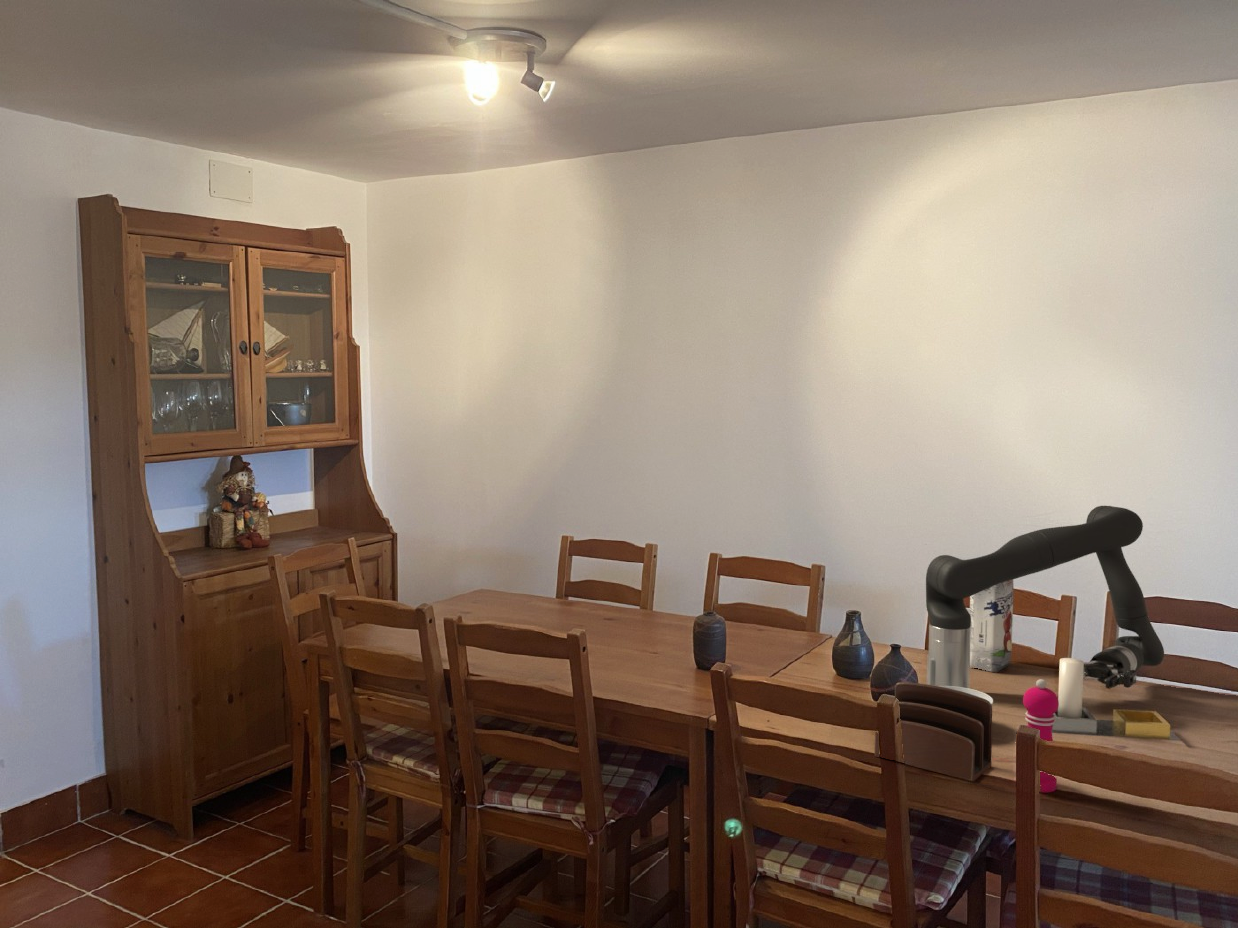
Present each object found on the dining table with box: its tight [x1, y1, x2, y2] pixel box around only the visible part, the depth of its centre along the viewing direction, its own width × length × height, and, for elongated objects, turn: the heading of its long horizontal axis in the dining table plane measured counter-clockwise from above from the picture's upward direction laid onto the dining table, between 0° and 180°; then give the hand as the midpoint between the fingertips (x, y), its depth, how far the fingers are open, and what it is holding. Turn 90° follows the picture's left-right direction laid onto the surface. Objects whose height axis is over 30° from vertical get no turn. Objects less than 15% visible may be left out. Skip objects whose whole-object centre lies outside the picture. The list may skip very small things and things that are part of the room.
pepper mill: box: [1022, 678, 1059, 793], centre depth 179 cm, size 7×7×20 cm
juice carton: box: [969, 579, 1014, 673], centre depth 253 cm, size 9×10×27 cm
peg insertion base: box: [1052, 706, 1181, 741], centre depth 207 cm, size 26×10×4 cm, turn 79°
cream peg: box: [1057, 657, 1085, 718], centre depth 207 cm, size 5×5×14 cm
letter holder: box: [873, 681, 993, 783], centre depth 191 cm, size 10×20×14 cm, turn 50°
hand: (1086, 679), depth 213 cm, fingers open, 8 cm apart
